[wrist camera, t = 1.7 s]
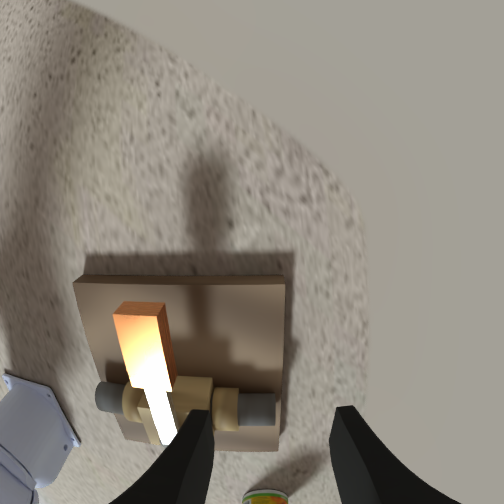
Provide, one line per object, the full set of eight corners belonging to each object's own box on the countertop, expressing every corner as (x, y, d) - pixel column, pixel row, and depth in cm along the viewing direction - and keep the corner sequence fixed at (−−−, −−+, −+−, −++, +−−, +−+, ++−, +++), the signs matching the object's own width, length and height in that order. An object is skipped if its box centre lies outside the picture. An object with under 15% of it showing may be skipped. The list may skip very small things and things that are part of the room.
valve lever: (193, 441, 17) (189, 457, 16) (161, 438, 17) (156, 453, 16) (165, 302, 14) (156, 316, 13) (123, 301, 14) (112, 314, 13)
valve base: (277, 439, 24) (279, 483, 19) (129, 428, 24) (113, 467, 19) (283, 274, 19) (290, 313, 14) (83, 274, 20) (43, 305, 15)
